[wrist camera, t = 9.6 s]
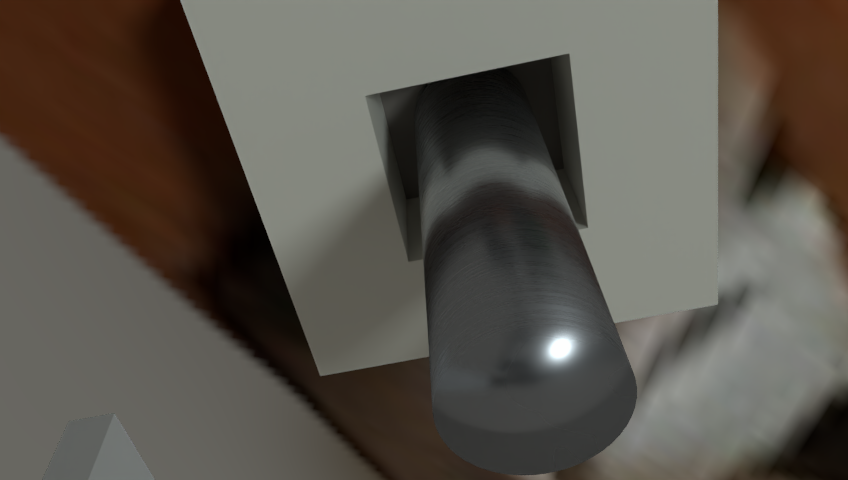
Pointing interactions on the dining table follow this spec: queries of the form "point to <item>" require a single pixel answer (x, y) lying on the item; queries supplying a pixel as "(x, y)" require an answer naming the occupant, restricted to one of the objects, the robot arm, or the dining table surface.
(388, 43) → the bore block
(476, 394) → the pin
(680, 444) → the dining table surface
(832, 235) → the dining table surface
